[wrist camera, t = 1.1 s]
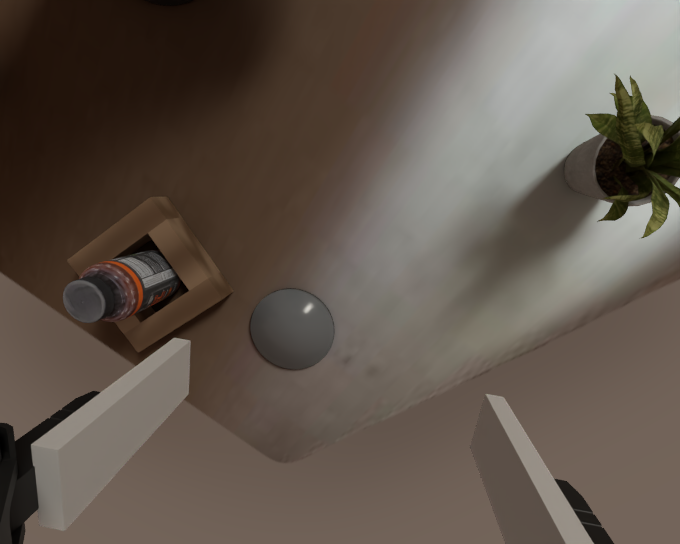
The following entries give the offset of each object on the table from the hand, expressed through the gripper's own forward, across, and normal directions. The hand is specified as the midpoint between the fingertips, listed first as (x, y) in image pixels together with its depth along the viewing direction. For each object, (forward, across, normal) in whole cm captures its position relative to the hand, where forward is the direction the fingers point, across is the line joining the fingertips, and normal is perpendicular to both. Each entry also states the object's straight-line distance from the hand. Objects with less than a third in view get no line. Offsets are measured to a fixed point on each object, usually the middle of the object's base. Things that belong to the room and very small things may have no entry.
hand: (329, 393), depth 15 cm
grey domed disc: (+24, -6, -9) cm, 26 cm away
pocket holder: (+24, -23, -4) cm, 34 cm away
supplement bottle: (+24, -23, -4) cm, 34 cm away
